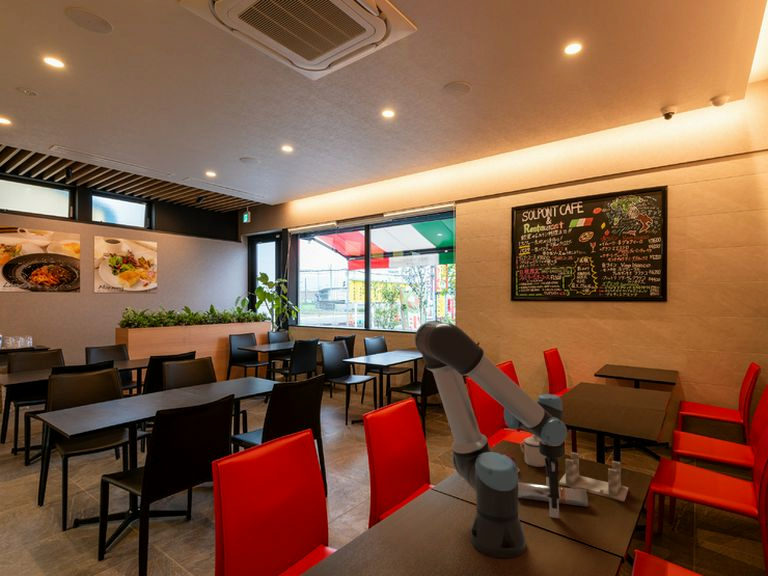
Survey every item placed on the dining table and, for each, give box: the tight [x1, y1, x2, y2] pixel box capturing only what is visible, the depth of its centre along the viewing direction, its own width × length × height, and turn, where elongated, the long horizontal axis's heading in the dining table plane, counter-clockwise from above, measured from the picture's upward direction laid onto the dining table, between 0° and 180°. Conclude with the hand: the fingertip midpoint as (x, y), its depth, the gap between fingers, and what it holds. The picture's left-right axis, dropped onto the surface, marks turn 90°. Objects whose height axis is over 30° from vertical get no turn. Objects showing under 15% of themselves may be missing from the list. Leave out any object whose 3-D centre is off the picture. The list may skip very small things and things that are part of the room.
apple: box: [504, 453, 520, 473], centre depth 164 cm, size 8×8×6 cm
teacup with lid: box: [520, 434, 546, 468], centre depth 172 cm, size 12×9×12 cm
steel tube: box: [518, 481, 589, 508], centre depth 139 cm, size 22×5×5 cm
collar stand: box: [558, 451, 629, 502], centre depth 149 cm, size 21×10×10 cm, turn 52°
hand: (552, 506), depth 135 cm, fingers open, 13 cm apart
